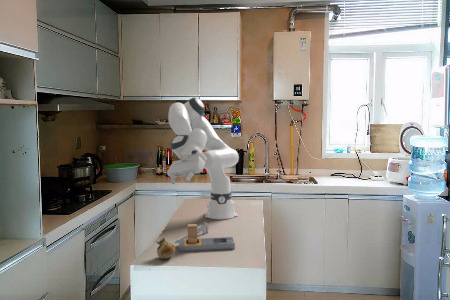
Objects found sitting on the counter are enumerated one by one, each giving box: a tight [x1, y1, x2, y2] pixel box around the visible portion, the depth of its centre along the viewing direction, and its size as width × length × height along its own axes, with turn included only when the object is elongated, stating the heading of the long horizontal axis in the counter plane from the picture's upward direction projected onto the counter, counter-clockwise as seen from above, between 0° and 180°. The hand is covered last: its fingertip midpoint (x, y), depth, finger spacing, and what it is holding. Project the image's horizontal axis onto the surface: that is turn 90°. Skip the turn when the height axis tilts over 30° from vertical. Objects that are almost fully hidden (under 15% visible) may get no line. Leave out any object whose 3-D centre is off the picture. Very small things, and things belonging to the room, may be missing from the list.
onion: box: [155, 237, 176, 260], centre depth 154 cm, size 8×8×8 cm
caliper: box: [174, 221, 209, 244], centre depth 180 cm, size 20×1×6 cm, turn 136°
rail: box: [178, 236, 236, 253], centre depth 166 cm, size 9×24×3 cm, turn 95°
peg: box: [187, 223, 198, 244], centre depth 165 cm, size 4×4×10 cm
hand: (179, 182), depth 169 cm, fingers open, 8 cm apart
